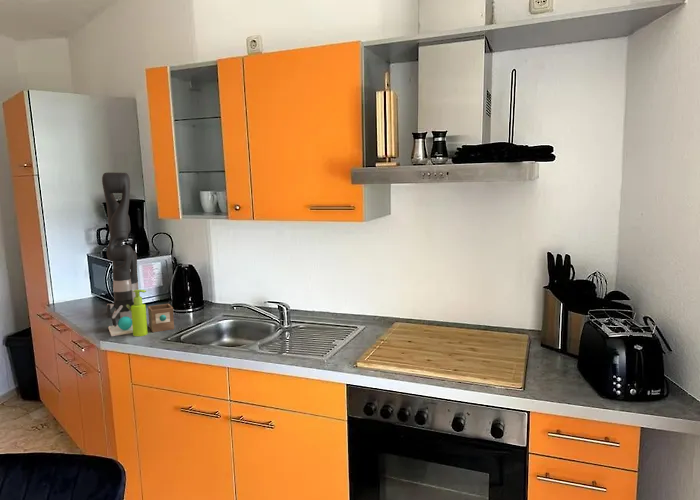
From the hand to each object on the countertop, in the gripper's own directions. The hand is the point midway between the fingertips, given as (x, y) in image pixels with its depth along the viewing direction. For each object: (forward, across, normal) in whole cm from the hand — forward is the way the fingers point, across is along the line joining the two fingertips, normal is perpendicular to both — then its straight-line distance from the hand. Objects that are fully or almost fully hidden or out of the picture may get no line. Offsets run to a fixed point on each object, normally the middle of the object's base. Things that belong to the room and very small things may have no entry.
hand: (125, 324), depth 225 cm
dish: (+3, 0, 0) cm, 3 cm away
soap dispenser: (+3, -5, +11) cm, 12 cm away
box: (+3, -14, +6) cm, 16 cm away
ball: (-1, 0, 0) cm, 1 cm away
